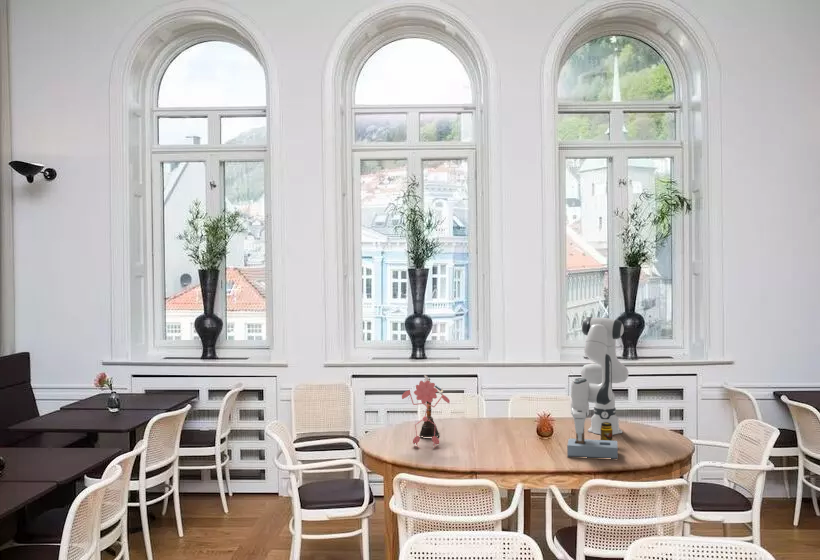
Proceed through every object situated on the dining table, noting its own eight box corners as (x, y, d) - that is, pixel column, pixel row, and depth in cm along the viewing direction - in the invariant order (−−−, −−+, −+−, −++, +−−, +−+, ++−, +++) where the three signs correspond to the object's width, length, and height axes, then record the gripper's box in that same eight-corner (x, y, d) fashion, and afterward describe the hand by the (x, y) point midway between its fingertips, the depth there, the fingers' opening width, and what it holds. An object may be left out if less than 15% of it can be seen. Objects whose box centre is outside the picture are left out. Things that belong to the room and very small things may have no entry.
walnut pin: (576, 451, 361) (576, 423, 360) (584, 451, 360) (584, 423, 359) (576, 453, 357) (575, 425, 356) (584, 453, 356) (584, 425, 355)
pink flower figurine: (449, 449, 371) (448, 382, 370) (401, 448, 374) (399, 382, 373) (451, 441, 386) (451, 377, 385) (404, 441, 390) (403, 377, 389)
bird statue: (448, 433, 406) (447, 372, 405) (448, 438, 393) (447, 375, 392) (419, 433, 407) (418, 372, 406) (418, 438, 394) (417, 376, 393)
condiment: (610, 448, 369) (610, 425, 368) (594, 446, 374) (594, 423, 373) (615, 445, 375) (615, 422, 375) (599, 442, 380) (599, 420, 379)
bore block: (568, 449, 366) (568, 438, 366) (617, 452, 360) (617, 440, 360) (567, 457, 353) (567, 445, 353) (617, 460, 347) (617, 448, 346)
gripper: (574, 406, 368) (574, 433, 369) (572, 415, 349) (572, 443, 349) (586, 407, 367) (587, 433, 367) (585, 415, 347) (586, 443, 347)
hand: (580, 438), depth 358 cm, fingers open, 8 cm apart
